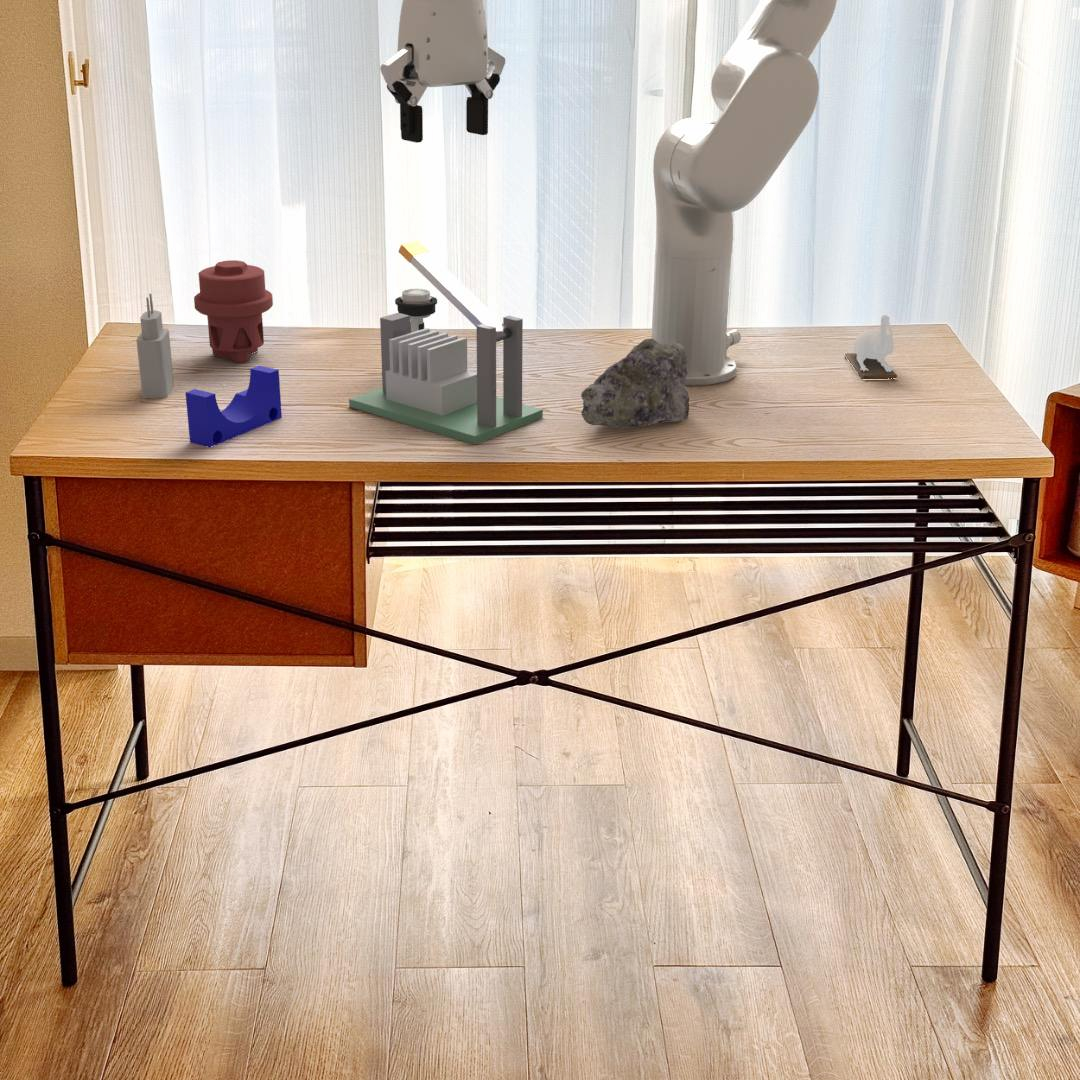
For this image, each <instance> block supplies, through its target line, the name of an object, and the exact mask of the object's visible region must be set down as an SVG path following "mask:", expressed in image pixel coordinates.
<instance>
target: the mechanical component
mask: <svg viewBox="0 0 1080 1080" xmlns="http://www.w3.org/2000/svg"><path fill="white" fill-rule="evenodd" d="M265 276H266V275H265V270H264V269H263V268H262V267H258V266H257V265H256V266H255V265H251V264H247V263H246V262H245V261H242V260H236V259H235V260H221V261H219V262H216V264H214V265H213V266H209V267H206V268H204V269H202V270H200V271H199V272H198V283H199V292H198V293H196V295H195V296H194V297H193V303H194V304H193V305H194V309H195V310H196V311H197V312H198V313H199V314H202V316H203V315H204V316H207V326H208V328H207V329H208V340H209V347H210V348H211V349H212V350H211V352H212V355H214V357H215V356H219V357H218V358H221V357H224V358H223V359H227V358H228V360H231V359H232V361H234V362H236V363H239V364H245V363H247V362H248V361H249V356H252V355H253V354H255V353H254V352H256V351H257V352H258V351H259V348H261V347H262V346H264V345H265V340H264V338H265V337H264V325H263V313H266V312H268V311H269V310H271V308H272V307H273V305H274V302H273V301H274V300H273V293H272V292H270V291H269V290H268V289H266V278H265ZM257 352H256V353H257ZM252 353H253V354H252ZM244 362H245V363H244Z"/></svg>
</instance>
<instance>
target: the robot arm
mask: <svg viewBox="0 0 1080 1080" xmlns="http://www.w3.org/2000/svg"><path fill="white" fill-rule="evenodd" d="M837 2H838V0H759V2H758V4H757V6H756V8H755V9H754V11H753V13H752V14H751V16H750V17H749V19H748V20H747V22H746V23H745V25H744V26H743V27H742V29H741V30H740V32H739V33H738V35H737V36H736V37H735V39H734V40H733V42H732V43H731V45H730V46H729V48H728V50H727V51H726V53H725V54H724V55H723V57H722V58H721V60H720V61H719V63H718V64H717V67H716V68H715V71H713V72H714V73H713V75H712V78H711V79H712V80H711V83H710V86H711V87H710V90H711V96H712V98H713V99H712V100H713V102H714V103H715V105H716V106H717V108H718V109H719V110H720V111H721V112H722V113H720V115H719V117H718V118H717V120H716V121H714V120H711V119H709V118H705V117H688V118H687V117H686V118H683V119H680V120H678V121H676V122H674V123H673V124H672V125H670V126H669V127H668V128H667V129H666V130H665V131H664V132H663V133H662V134H661V137H659V140H658V142H657V145H656V147H655V151H654V156H653V162H652V163H653V165H652V166H653V169H652V172H653V173H652V174H653V185H654V194H655V196H654V198H655V212H656V213H655V214H656V215H655V222H656V223H655V224H656V225H655V226H656V228H655V230H656V231H655V251H654V252H655V253H654V268H653V269H654V270H653V293H652V294H653V295H652V317H651V318H652V319H651V338H650V339H654V340H655V341H657V342H658V343H659V344H666V343H667V344H668V343H672V342H674V343H679V344H680V345H682V346H683V347H684V349H685V351H686V354H687V363H686V369H687V375H686V378H685V386H706V385H714V384H715V385H716V384H719V383H723V382H726V381H729V380H731V379H733V378H734V377H735V376H736V373H737V363H736V362H735V360H733V359H732V358H730V357H729V356H727V354H728V353H727V350H728V349H729V348H730V347H732V346H734V345H737V344H738V343H740V342H741V340H742V339H741V338H742V337H741V333H740V331H739V330H737V329H731V330H730V329H729V330H728V328H727V327H728V313H729V312H728V311H729V297H730V283H731V280H730V279H731V268H732V267H731V265H732V253H733V244H734V242H733V240H734V237H733V236H734V224H733V223H734V222H733V221H734V220H733V213H734V212H737V211H740V210H741V209H743V208H745V207H746V206H748V205H749V204H750V203H751V202H753V200H754V199H756V198H757V196H758V195H759V194H760V193H761V192H762V190H764V188H765V187H766V185H767V184H768V183H769V181H770V179H771V178H772V176H773V175H774V174H775V172H777V170H778V168H779V167H780V165H781V164H782V162H783V161H784V159H785V158H786V157H787V155H788V153H789V152H790V150H792V148H793V146H794V145H795V143H796V142H797V140H798V139H799V137H800V136H801V134H802V133H803V132H804V130H805V128H806V127H807V126H808V124H809V122H810V120H811V119H812V116H813V114H814V111H815V109H816V106H817V103H818V98H819V90H820V87H819V86H820V83H819V77H818V74H817V71H816V69H815V66H814V65H813V63H812V61H810V57H811V55H812V54H813V52H814V50H815V49H816V47H817V45H818V43H819V42H820V40H821V39H822V37H823V35H824V34H825V32H826V30H827V28H828V27H829V25H830V23H831V20H832V18H833V15H834V13H835V11H836V10H835V9H836V5H837ZM400 8H401V9H400V16H399V21H398V22H399V23H398V34H397V35H398V37H397V53H395V54H394V55H392V56H391V57H390V58H389V59H387V60H385V61H384V62H383V63H382V64H381V65H380V72H381V76H383V80H384V82H385V83H386V88H387V91H388V92H389V93H390V94H391V95H392V96H393V98H394V101H395V103H396V104H399V120H400V126H399V127H400V138H401V139H402V141H406V142H411V143H421V142H422V141H423V138H424V137H423V135H424V130H423V125H424V124H423V120H424V118H423V117H424V115H423V112H424V111H423V105H419V102H420V101H421V98H422V97H423V95H424V93H425V91H426V90H427V88H440V87H450V86H451V87H453V86H462V85H463V86H465V87H466V89H467V91H468V92H469V94H470V95H471V96H468V97H466V106H465V107H466V108H465V109H466V111H465V112H466V116H465V117H466V119H465V120H466V121H465V122H466V128H465V129H466V132H468V133H470V134H475V135H480V136H487V135H488V134H489V100H491V99H492V98H493V97H494V90H495V89H496V88H497V86H498V85H499V83H500V81H501V75H502V72H503V70H504V67H505V65H506V58H505V57H504V56H502V55H501V54H499V53H498V52H497V51H496V50H493V49H492V48H491V47H490V46H488V30H487V18H486V12H485V10H486V9H485V4H484V0H402V3H401V7H400Z"/></svg>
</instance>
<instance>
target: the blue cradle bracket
mask: <svg viewBox="0 0 1080 1080" xmlns="http://www.w3.org/2000/svg"><path fill="white" fill-rule="evenodd" d="M249 370H250V371H249V372H250V373H249V374H250V375H249V383H248V387H247V389H245V390H242V391H240V392H237V393H235V394H234V396H233V398H232V400H231V401H230V403H229V404H228V405H227V406H226V407H225V408H223V410H221V409H220V407H219V405H218V402H217V401H218V400H217V395H216V393H213V392H210V391H205V390H200V389H196V388H194V389H190V390H189V391H186V392H184V393H185V403H186V414H187V426H188V434H189V442H191V443H190V444H194V443H195V444H194V445H198V444H199V445H198V446H202V445H203V447H206V446H208V447H207V448H212V447H211V446H213V447H215V446H218V445H219V443H220V444H223V443H224V441H225V442H227V441H229V440H231V439H234V438H237V437H238V435H239V436H242V435H243V433H244V434H246V433H248V432H250V431H253V430H256V429H258V428H261V427H263V426H265V425H268V424H270V423H272V422H274V421H277V420H279V419H282V418H283V416H282V415H283V414H282V413H283V412H282V401H281V383H280V382H281V381H280V370H279V369H277V368H273V367H272V368H271V367H268V366H263V365H257V366H254V367H252V368H250V369H249ZM236 436H237V437H236ZM233 437H234V438H233ZM228 439H229V440H228ZM226 440H227V441H226ZM214 445H215V446H214Z"/></svg>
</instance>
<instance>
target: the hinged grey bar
mask: <svg viewBox="0 0 1080 1080" xmlns="http://www.w3.org/2000/svg"><path fill="white" fill-rule="evenodd" d="M397 253H399V255H401V256H402V257H403V258H404V259H405V260H406V261H407V262H408V263H409V264H411V265H412V266H413V267H414V268H415V269H416V270H417V271H418V272H419V273H420V274H421V275H422V276H423V277H424V278H425V279H426V280H428V282H430V283H431V285H433V287H435V288H436V290H437V291H438V292H439V293H440V294H442V295H443V297H445V298H446V299H447V300H448V302H449V303H451V304H452V305H453V306H454V307H455V308H456V309H457V310H458V312H460V313H461V314H462V315H463V316H464V317H465V318H467V320H468V321H469V322H470V323H471V324H472V325H473V326H474V327H476V326H478V325H481V324H484V325H489V326H493V327H496V343H498V342H502V341H503V340H504V339H507V338H510V337H511V336H512V331H511V330H510V328H507V327H506V326H505V325H504V324H503V321H500V319H499V318H498V317H497V316H495V315H494V314H493V313H492V311H491V310H490V309H488V307H486V306H485V305H484V304H483V303H482V301H480V299H478V298H477V297H476V296H475V294H473V293H472V292H471V291H470V290H469V289H467V287H465V285H463V284H462V282H460V281H459V279H457V278H456V277H455V276H454V275H453V274H452V272H450V271H449V270H448V269H447V267H445V266H444V265H443V264H442V263H441V261H439V260H438V259H437V258H436V257H435V256H434V255H433V254H432V253H430V251H429V250H428V248H426V247H425V246H424V245H423V243H421V242H420V241H419V240H413V241H410V242H405V243H401V244H400V247H399V250H398V252H397Z"/></svg>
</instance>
